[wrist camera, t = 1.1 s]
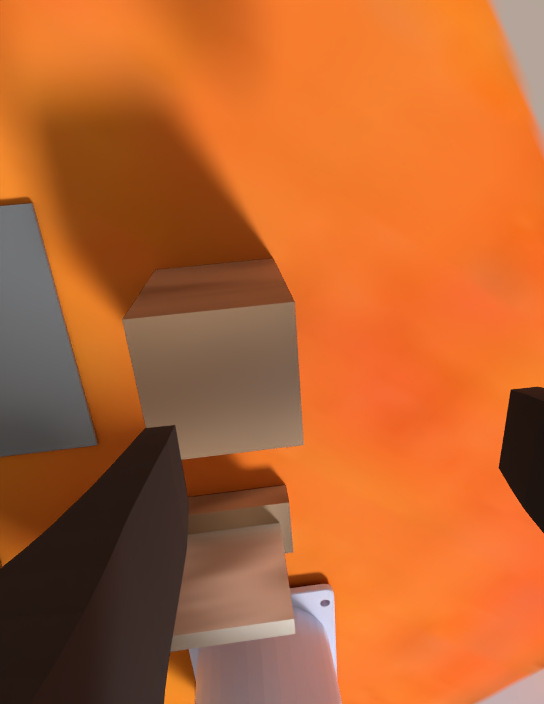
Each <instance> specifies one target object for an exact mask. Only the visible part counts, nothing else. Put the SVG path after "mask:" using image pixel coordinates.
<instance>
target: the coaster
mask: <svg viewBox="0 0 544 704" xmlns="http://www.w3.org/2000/svg"><path fill="white" fill-rule="evenodd" d="M97 444H98V441H97V438H96V434H95V430H94V426H93V423H92V419H91V415H90V412H89V408H88V404H87V401H86V397H85V393H84V390H83V386H82V382H81V379H80V375H79V371H78V367H77V364H76V360H75V356H74V353H73V349H72V345H71V342H70V338H69V334H68V331H67V327H66V323H65V320H64V316H63V312H62V309H61V305H60V301H59V297H58V294H57V290H56V286H55V283H54V279H53V275H52V272H51V268H50V264H49V261H48V257H47V253H46V250H45V246H44V242H43V239H42V235H41V231H40V227H39V224H38V220H37V216H36V213H35V209H34V205H33V203H27V204H16V205H5V206H0V457H3V456H12V455H20V454H28V453H37V452H45V451H54V450H62V449H71V448H79V447H88V446H96V445H97Z"/></svg>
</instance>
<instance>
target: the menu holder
mask: <svg viewBox="0 0 544 704" xmlns="http://www.w3.org/2000/svg"><path fill="white" fill-rule="evenodd" d="M188 501H189V514H188V538H187V552H186V559H185V565H184V571H183V577H182V584H181V590H180V596H179V602H178V608H177V614H176V620H175V626H174V632H173V638H172V644H171V650H170V652H173V651H180V650H187V649H194V648H200V647H207V646H214V645H221V644H228V643H235V642H242V641H249V640H256V639H263V638H270V637H277V636H284V635H291V634H295V623H294V615H293V608H292V601H291V594H290V588H289V581H288V574H287V567H286V561H285V554H284V553H291V552H293V544H292V532H291V519H290V507H289V499H288V494H287V488H286V485H282V486H274V487H266V488H258V489H251V490H243V491H235V492H227V493H219V494H211V495H203V496H195V497H188Z"/></svg>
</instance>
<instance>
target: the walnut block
mask: <svg viewBox="0 0 544 704" xmlns="http://www.w3.org/2000/svg"><path fill="white" fill-rule="evenodd" d="M122 321H123V325H124V330H125V335H126V339H127V344H128V348H129V353H130V357H131V362H132V367H133V371H134V376H135V380H136V385H137V389H138V394H139V399H140V403H141V408H142V412H143V417H144V421H145V426H146V428H150V427H160V426H169V425H175V426H176V432H177V438H178V443H179V449H180V455H181V460H184V459H192V458H200V457H208V456H217V455H225V454H233V453H241V452H249V451H258V450H266V449H274V448H282V447H291V446H299V445H304V443H303V427H302V411H301V395H300V379H299V363H298V347H297V331H296V315H295V301H294V299H293V297H292V295H291V293H290V291H289V289H288V287H287V285H286V283H285V281H284V279H283V277H282V275H281V273H280V271H279V269H278V267H277V265H276V263H275V261H274V259H273V258H269V259H259V260H249V261H239V262H228V263H218V264H208V265H198V266H188V267H178V268H168V269H157V270H155V271H154V272H153V274H152V275H151V277H150V278H149V280H148V281H147V283H146V284H145V286H144V287H143V289H142V290H141V292H140V294H139V295H138V297H137V298H136V300H135V301H134V303H133V304H132V306H131V307H130V309H129V310H128V312H127V313H126V315H125V316H124V318H123V319H122Z"/></svg>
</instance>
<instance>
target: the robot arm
mask: <svg viewBox="0 0 544 704" xmlns="http://www.w3.org/2000/svg"><path fill="white" fill-rule="evenodd" d="M499 469H500V471H501V472H502V474H503V476H504V478H505V479H506V481H507V483H508V484H509V486H510V488H511V489H512V491H513V493H514V494H515V496H516V497H517V499H518V500H519V502H520V503H521V505H522V507H523V508H524V509H525V511H526V512H527V513H528V514H529V516H530V517H531V518H532V519H533V521H534V522H535V523H536V524H537V526H538V527H539V528H540V529H541V531H542V532H543V533H544V388H542V387H531V388H522V389H512V390H511V392H510V398H509V405H508V411H507V418H506V424H505V431H504V437H503V444H502V450H501V457H500V463H499ZM188 514H189V501H188V496H187V490H186V484H185V478H184V472H183V467H182V461H181V455H180V449H179V443H178V438H177V432H176V426H175V425H169V426H160V427H150V428H145V429H144V430H143V431H142V432H141V433H140V435H139V436H138V437H137V438H136V439H135V440H134V441H133V442H132V443H131V444H130V446H129V447H128V448H127V449H126V450H125V451H124V452H123V453H122V455H121V456H120V457H119V458H118V459H117V460H116V461H115V462H114V463H113V464H112V466H111V467H110V468H109V469H108V470H107V471H106V472H105V473H104V474H103V475H102V476H101V477H100V478H99V480H98V481H97V482H96V483H95V484H94V485H93V486H92V487H91V488H90V489H89V490H88V491H87V492H86V493H85V494H84V495H83V496H82V497H81V498H80V499H79V500H78V501H77V502H76V503H74V504H73V505H72V506H71V507H70V508H69V509H68V510H67V511H66V512H65V513H64V514H63V515H62V516H61V517H60V518H59V519H58V520H57V521H56V522H55V523H54V524H53V525H52V526H51V527H49V528H48V529H47V530H46V531H45V532H44V533H43V534H42V535H40V536H39V537H38V538H37V539H36V540H35V541H33V542H32V543H31V544H30V545H29V546H28V547H26V548H25V549H24V550H23V551H22V552H20V553H19V554H18V555H17V556H15V557H14V558H13V559H12V560H11V561H9V562H8V563H7V564H6V565H4V566H3V567H2V568H1V569H0V704H164V696H165V686H166V678H167V670H168V662H169V656H170V650H171V644H172V638H173V632H174V626H175V620H176V614H177V608H178V602H179V596H180V590H181V584H182V577H183V571H184V565H185V559H186V552H187V538H188ZM290 594H291V601H292V608H293V615H294V623H295V634H291V635H284V636H277V637H270V638H263V639H256V640H249V641H242V642H235V643H228V644H221V645H214V646H207V647H200V648H194V649H189V653H190V657H191V662H192V666H193V671H194V675H195V679H196V692H195V704H342V700H341V695H340V691H339V686H338V681H337V662H336V635H335V609H334V593H333V589H332V587H331V586H330V585H328V584H318V585H311V586H303V587H296V588H290Z"/></svg>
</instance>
